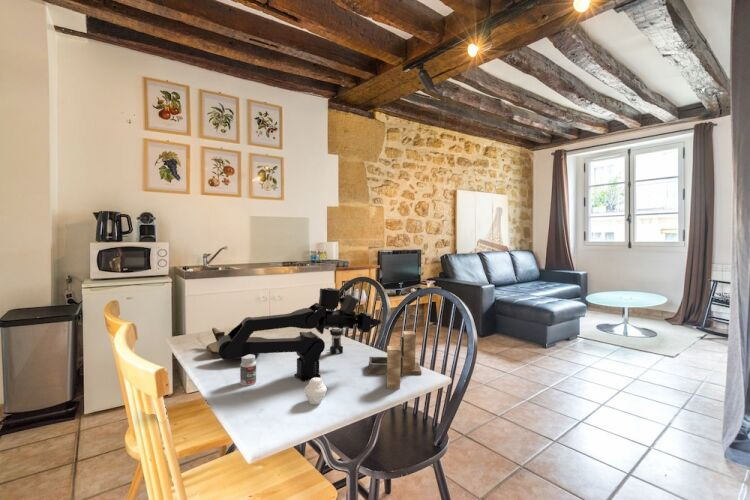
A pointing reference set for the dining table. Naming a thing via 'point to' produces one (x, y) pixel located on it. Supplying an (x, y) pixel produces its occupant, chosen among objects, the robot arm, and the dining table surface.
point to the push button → (336, 341)
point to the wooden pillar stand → (408, 353)
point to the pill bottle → (248, 370)
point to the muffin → (315, 391)
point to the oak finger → (394, 366)
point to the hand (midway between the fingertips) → (373, 320)
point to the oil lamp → (213, 346)
